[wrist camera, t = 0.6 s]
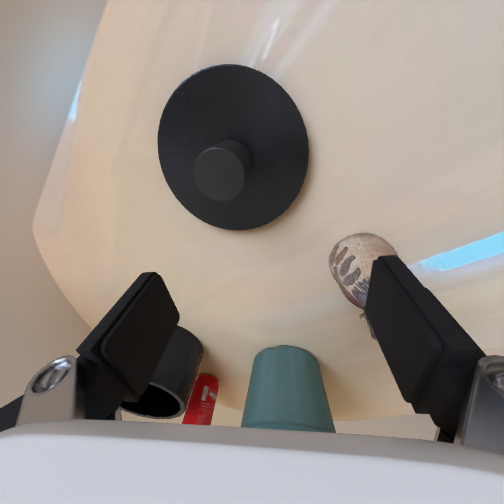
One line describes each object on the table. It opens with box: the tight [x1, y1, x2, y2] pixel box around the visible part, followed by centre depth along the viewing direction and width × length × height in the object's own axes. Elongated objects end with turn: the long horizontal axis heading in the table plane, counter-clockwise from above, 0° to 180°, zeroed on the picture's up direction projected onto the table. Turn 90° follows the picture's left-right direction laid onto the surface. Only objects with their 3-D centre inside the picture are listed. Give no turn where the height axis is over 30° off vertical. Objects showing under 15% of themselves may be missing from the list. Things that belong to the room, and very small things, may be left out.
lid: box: [158, 64, 309, 230], centre depth 19 cm, size 15×15×7 cm
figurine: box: [329, 233, 398, 341], centre depth 22 cm, size 7×7×12 cm
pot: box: [120, 326, 203, 419], centre depth 37 cm, size 14×14×10 cm
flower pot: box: [241, 346, 336, 433], centre depth 34 cm, size 16×16×16 cm
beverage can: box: [182, 374, 219, 425], centre depth 42 cm, size 5×5×12 cm
